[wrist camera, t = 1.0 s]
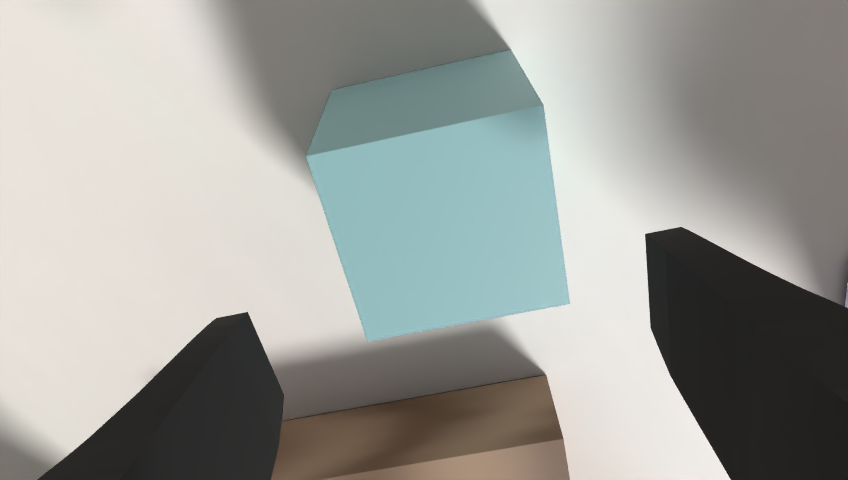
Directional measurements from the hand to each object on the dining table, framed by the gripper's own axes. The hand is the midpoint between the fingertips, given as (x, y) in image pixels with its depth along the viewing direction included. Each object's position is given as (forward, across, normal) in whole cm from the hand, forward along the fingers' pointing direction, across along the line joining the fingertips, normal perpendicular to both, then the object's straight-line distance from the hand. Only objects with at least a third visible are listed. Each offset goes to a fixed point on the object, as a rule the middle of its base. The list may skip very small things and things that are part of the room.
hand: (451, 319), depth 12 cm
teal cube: (+8, 0, 0) cm, 8 cm away
